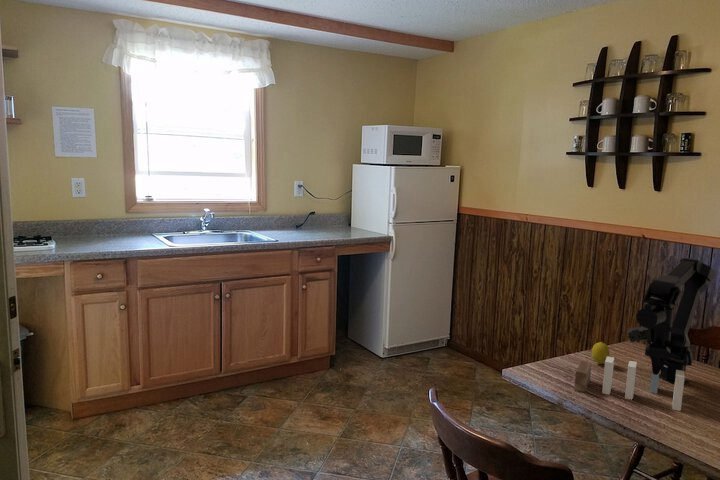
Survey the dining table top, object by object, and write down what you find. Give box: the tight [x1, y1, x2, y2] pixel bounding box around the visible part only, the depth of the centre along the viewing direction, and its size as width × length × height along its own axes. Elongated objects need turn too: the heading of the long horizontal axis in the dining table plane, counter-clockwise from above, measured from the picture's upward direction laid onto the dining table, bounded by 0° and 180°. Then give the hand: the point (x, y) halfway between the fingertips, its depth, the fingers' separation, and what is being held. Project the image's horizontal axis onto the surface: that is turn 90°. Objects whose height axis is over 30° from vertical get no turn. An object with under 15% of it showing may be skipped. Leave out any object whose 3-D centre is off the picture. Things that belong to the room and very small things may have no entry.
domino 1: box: [601, 356, 615, 396], centre depth 155 cm, size 2×5×10 cm, turn 148°
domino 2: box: [624, 360, 638, 401], centre depth 152 cm, size 2×5×10 cm, turn 148°
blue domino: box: [649, 369, 660, 394], centre depth 156 cm, size 2×5×10 cm, turn 148°
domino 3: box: [671, 370, 686, 412], centre depth 145 cm, size 2×5×10 cm, turn 148°
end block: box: [573, 360, 592, 393], centre depth 159 cm, size 3×10×6 cm, turn 148°
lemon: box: [591, 341, 611, 365], centre depth 176 cm, size 6×6×8 cm
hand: (655, 371), depth 156 cm, fingers open, 6 cm apart
